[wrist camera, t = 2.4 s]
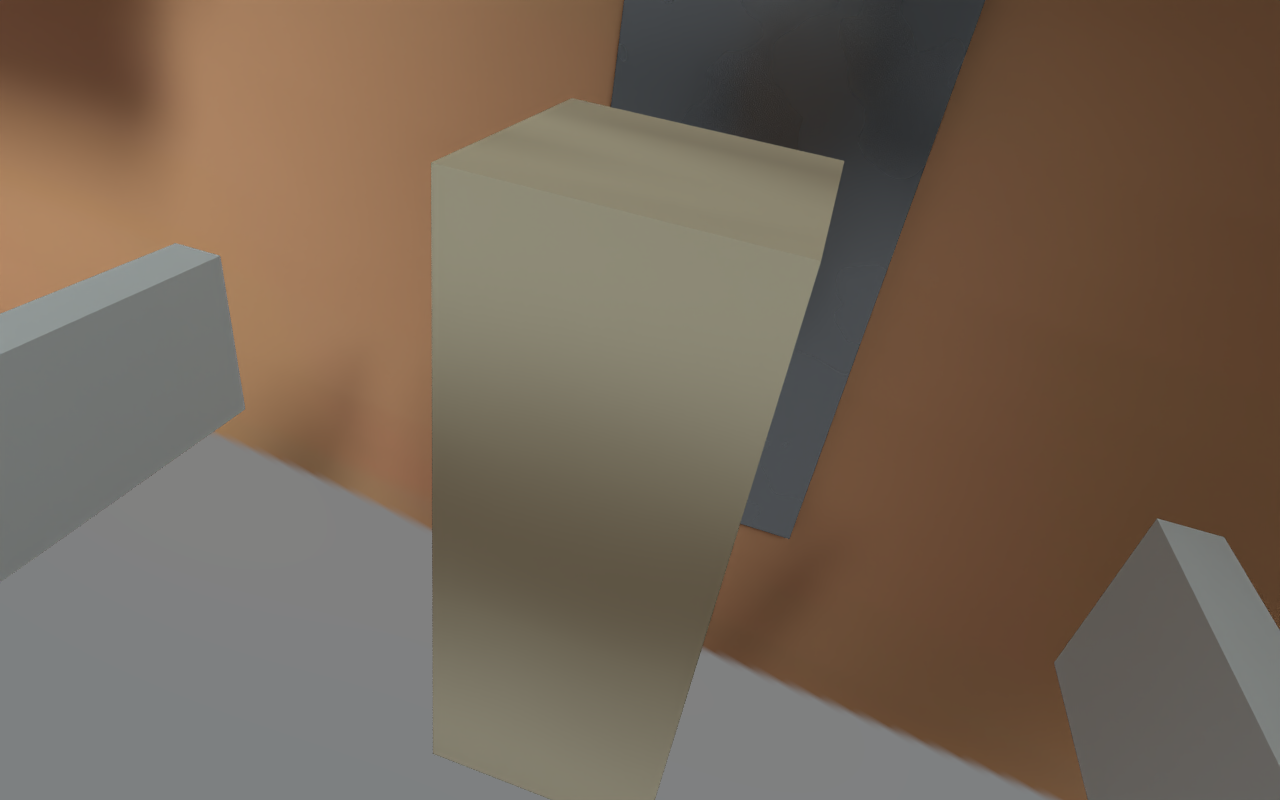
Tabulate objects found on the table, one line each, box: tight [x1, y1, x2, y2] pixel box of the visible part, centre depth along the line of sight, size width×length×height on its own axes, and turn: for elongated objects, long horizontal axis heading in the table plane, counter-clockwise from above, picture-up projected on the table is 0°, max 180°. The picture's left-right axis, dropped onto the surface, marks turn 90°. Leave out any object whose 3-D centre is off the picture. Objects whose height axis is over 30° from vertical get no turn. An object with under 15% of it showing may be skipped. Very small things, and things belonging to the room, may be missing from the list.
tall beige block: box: [431, 0, 985, 800], centre depth 11 cm, size 15×6×10 cm, turn 171°
